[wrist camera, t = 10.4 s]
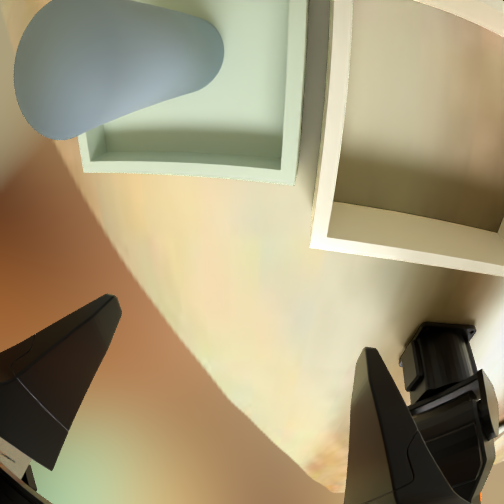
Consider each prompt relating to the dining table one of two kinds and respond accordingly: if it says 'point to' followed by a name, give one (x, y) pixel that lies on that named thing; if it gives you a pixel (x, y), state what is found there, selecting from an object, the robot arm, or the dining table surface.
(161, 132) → the tray
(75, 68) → the cylinder
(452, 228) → the cream square bin
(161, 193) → the dining table surface
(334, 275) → the dining table surface
